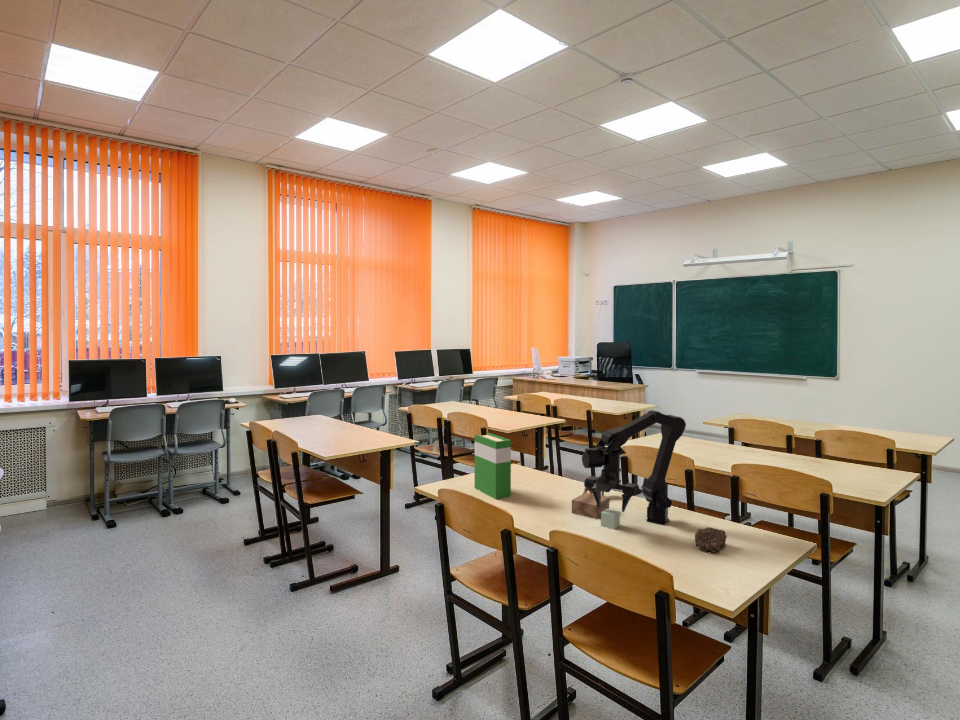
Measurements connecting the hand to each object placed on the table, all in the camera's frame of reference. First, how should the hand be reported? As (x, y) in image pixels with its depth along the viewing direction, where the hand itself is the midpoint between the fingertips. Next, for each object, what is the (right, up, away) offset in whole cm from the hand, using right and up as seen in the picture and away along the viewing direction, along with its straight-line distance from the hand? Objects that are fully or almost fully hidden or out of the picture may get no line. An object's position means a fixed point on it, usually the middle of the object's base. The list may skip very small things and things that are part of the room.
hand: (610, 509), depth 187 cm
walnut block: (-4, -5, +15) cm, 16 cm away
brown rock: (+27, -7, -18) cm, 33 cm away
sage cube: (0, -6, 0) cm, 6 cm away
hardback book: (-42, -4, +39) cm, 57 cm away
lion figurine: (+1, -4, +32) cm, 33 cm away
